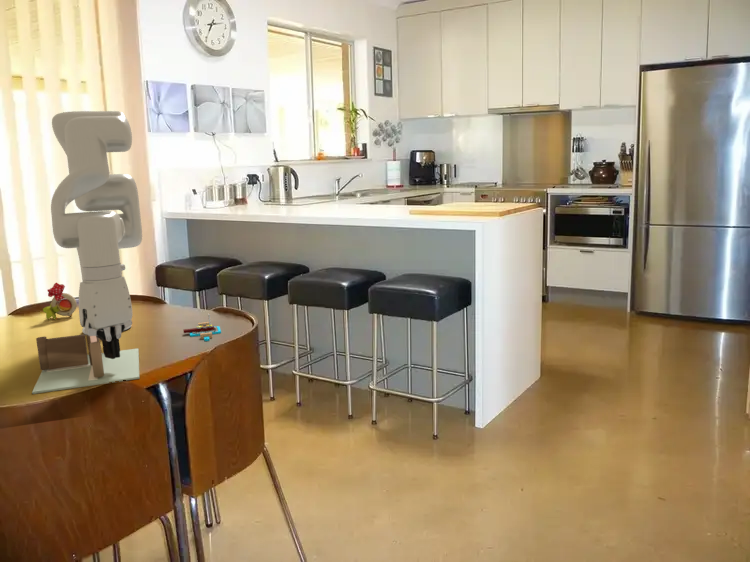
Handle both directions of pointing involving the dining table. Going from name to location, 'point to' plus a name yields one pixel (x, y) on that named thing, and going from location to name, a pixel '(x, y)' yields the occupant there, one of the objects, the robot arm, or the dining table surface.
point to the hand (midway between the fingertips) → (112, 357)
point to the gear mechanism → (204, 327)
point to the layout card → (90, 373)
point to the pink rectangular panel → (96, 357)
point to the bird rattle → (66, 304)
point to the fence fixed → (63, 351)
